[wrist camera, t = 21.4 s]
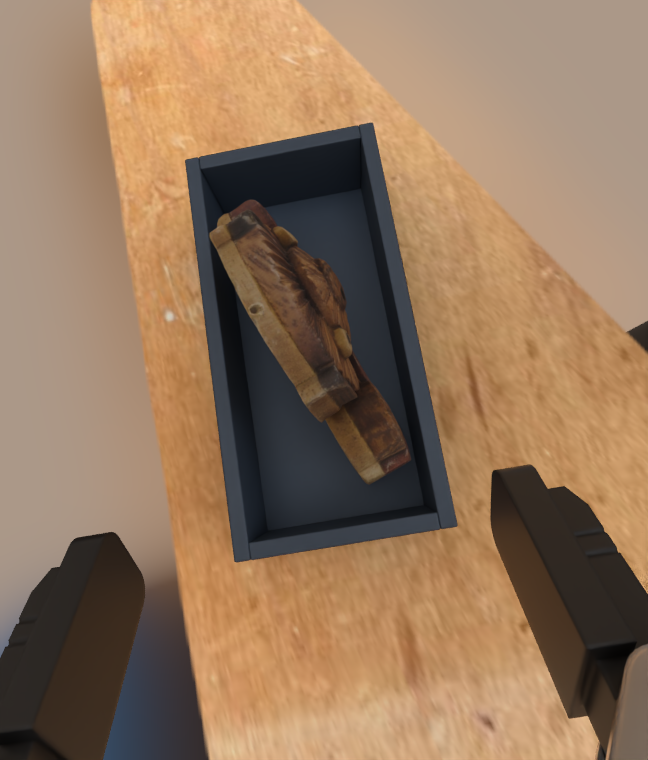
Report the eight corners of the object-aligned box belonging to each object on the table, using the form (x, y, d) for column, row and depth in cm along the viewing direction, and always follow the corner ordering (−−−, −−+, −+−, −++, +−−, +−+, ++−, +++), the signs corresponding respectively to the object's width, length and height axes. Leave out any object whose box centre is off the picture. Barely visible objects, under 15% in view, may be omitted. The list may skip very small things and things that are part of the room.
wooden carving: (431, 442, 28) (467, 427, 19) (366, 488, 28) (368, 497, 18) (275, 230, 32) (236, 122, 22) (216, 270, 31) (150, 179, 22)
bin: (370, 182, 33) (372, 121, 27) (438, 515, 28) (458, 526, 23) (214, 213, 33) (184, 159, 27) (259, 545, 29) (234, 563, 23)
